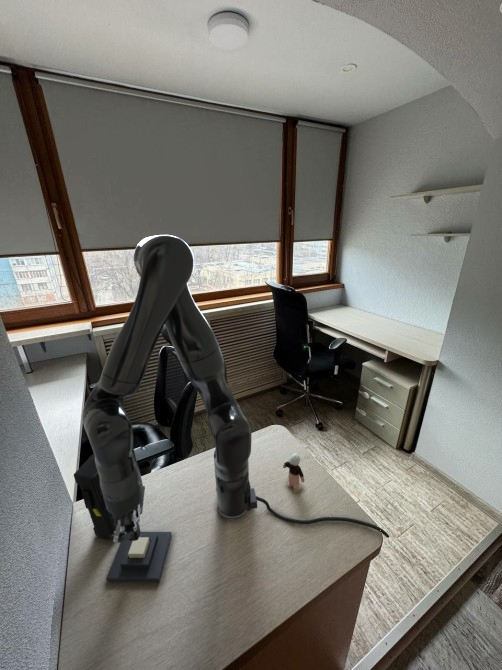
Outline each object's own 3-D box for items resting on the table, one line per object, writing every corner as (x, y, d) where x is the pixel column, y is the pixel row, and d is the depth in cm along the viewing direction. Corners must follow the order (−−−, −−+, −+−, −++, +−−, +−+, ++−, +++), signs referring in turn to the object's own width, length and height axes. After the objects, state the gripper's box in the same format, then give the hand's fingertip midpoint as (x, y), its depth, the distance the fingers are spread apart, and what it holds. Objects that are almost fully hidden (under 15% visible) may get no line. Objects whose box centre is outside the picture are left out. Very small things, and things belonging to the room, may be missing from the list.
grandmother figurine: (306, 486, 83) (309, 456, 78) (302, 496, 80) (304, 465, 75) (284, 475, 87) (286, 445, 82) (279, 484, 84) (280, 454, 79)
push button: (171, 535, 70) (170, 527, 69) (159, 582, 61) (157, 573, 60) (126, 535, 71) (124, 527, 69) (107, 582, 61) (104, 573, 60)
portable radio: (112, 546, 68) (89, 475, 59) (92, 541, 69) (65, 471, 60) (131, 516, 75) (113, 448, 66) (112, 512, 76) (91, 444, 67)
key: (149, 541, 66) (148, 537, 66) (144, 558, 63) (143, 553, 62) (135, 541, 66) (134, 537, 66) (129, 558, 63) (127, 553, 62)
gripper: (125, 515, 50) (139, 570, 57) (151, 458, 62) (160, 509, 69) (85, 515, 50) (104, 570, 57) (119, 458, 62) (131, 509, 69)
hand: (135, 536), depth 63 cm, fingers closed
